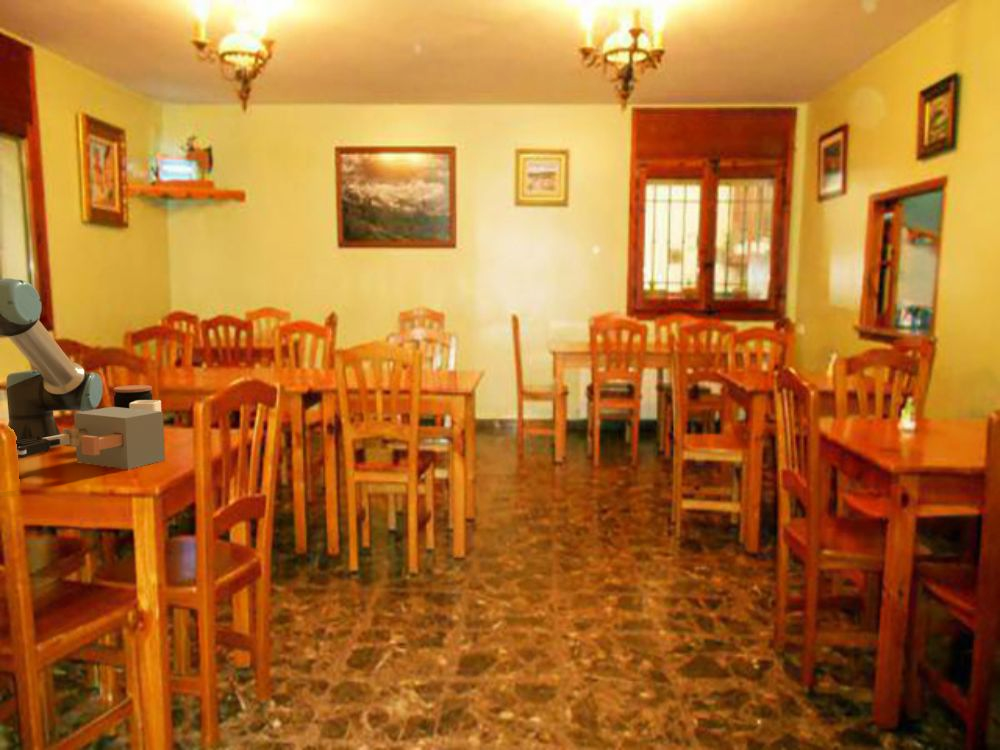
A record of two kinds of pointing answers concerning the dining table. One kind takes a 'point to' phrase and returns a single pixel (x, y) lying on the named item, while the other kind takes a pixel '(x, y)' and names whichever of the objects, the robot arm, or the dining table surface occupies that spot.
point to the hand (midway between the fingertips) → (67, 438)
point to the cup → (146, 405)
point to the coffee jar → (131, 394)
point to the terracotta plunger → (100, 443)
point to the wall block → (138, 436)
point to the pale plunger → (74, 436)
